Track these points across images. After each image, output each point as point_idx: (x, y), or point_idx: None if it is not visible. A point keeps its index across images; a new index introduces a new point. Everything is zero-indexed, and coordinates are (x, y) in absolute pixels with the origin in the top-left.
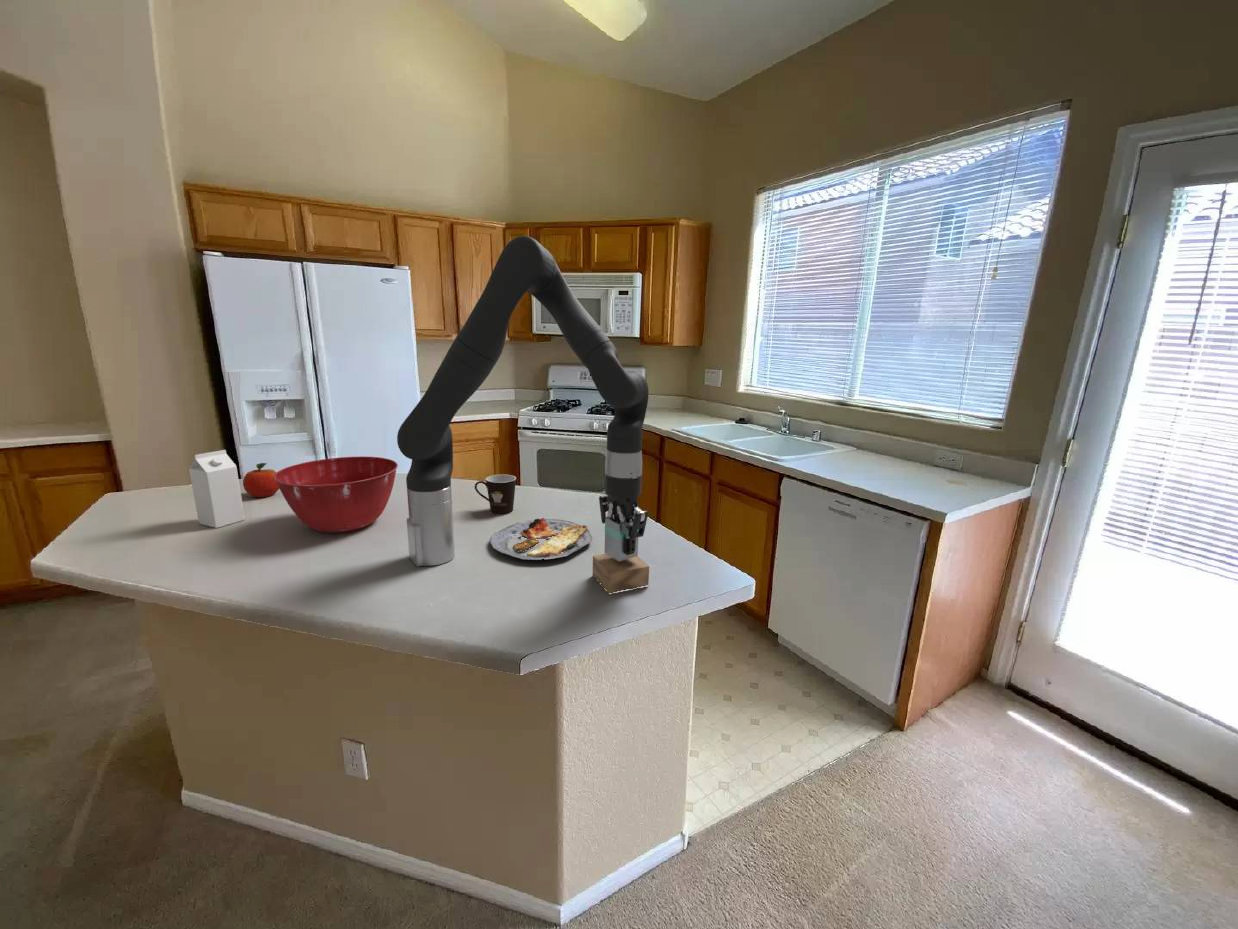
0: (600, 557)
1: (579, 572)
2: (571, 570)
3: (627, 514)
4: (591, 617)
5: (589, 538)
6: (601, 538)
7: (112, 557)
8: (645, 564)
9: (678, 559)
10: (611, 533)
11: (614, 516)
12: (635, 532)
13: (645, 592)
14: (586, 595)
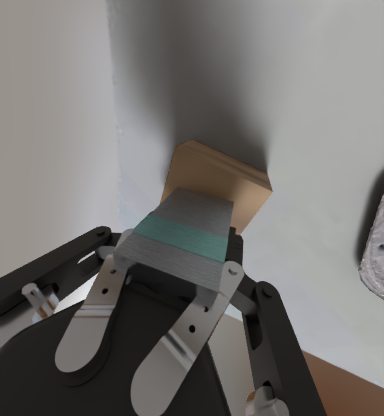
0: (249, 195)
1: (304, 166)
2: (330, 161)
3: (68, 309)
4: (150, 38)
5: (372, 283)
6: (351, 297)
7: None
8: None
9: None
10: (186, 232)
11: (183, 307)
12: (74, 239)
13: (163, 187)
14: (221, 100)
